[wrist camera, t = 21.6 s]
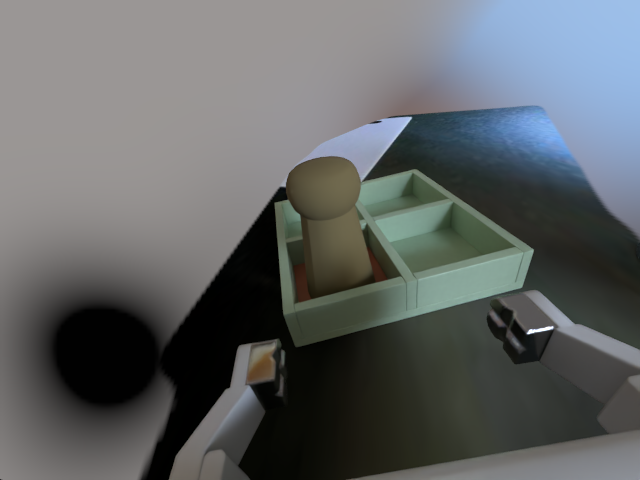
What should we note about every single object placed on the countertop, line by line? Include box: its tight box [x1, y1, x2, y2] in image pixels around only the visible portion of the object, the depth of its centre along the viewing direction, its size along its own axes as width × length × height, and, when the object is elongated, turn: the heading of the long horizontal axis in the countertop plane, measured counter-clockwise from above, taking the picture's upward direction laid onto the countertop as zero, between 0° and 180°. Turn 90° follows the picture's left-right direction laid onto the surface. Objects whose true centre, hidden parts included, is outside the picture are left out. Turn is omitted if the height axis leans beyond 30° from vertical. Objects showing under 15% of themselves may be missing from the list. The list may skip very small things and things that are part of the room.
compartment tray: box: [275, 169, 534, 347], centre depth 28 cm, size 18×18×4 cm
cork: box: [286, 156, 376, 299], centre depth 21 cm, size 6×6×11 cm
